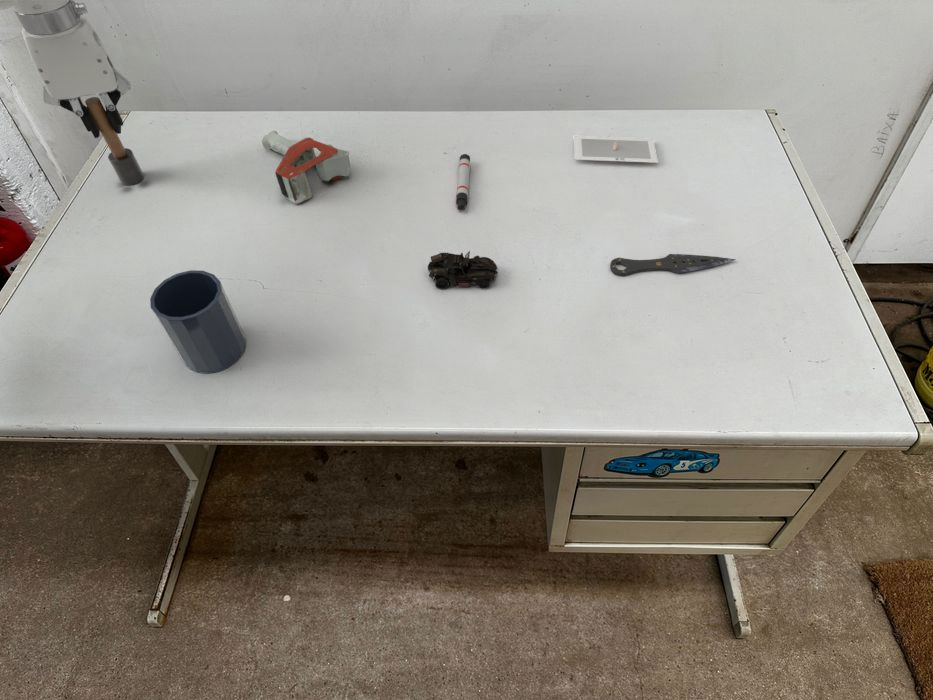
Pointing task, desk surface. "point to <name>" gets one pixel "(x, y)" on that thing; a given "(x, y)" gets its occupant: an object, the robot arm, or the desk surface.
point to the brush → (115, 146)
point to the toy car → (461, 270)
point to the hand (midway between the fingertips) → (107, 130)
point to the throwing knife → (667, 263)
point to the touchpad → (614, 149)
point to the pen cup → (199, 321)
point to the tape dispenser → (305, 164)
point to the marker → (463, 181)
